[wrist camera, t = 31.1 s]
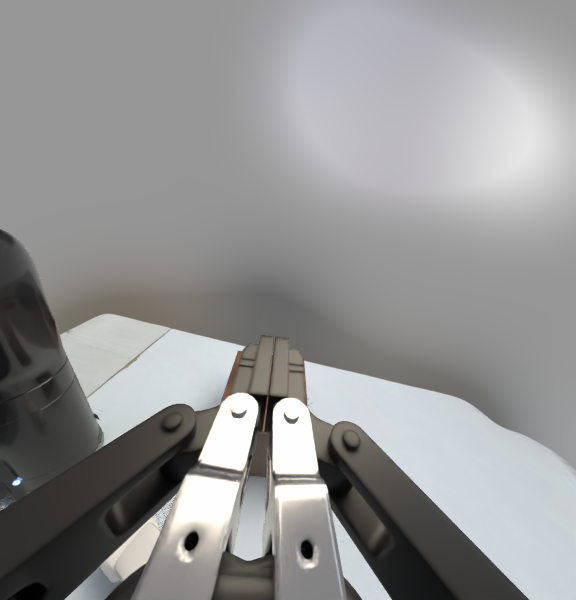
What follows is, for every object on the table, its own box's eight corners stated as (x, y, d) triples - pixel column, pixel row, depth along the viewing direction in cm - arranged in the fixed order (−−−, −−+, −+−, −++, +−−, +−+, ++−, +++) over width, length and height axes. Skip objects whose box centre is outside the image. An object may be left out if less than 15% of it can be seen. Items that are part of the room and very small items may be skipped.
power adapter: (88, 552, 24) (71, 533, 22) (132, 503, 28) (123, 482, 26) (154, 635, 20) (143, 624, 18) (194, 565, 24) (190, 547, 22)
